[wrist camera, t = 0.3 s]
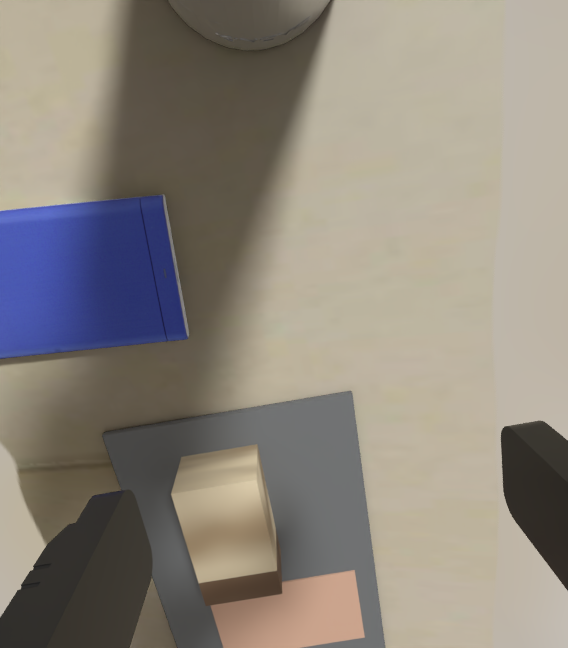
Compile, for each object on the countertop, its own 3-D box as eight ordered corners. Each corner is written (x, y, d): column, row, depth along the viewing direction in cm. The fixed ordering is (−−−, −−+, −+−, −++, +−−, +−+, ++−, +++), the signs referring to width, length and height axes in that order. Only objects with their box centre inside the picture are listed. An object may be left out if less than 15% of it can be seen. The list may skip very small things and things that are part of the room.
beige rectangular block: (181, 456, 29) (170, 494, 26) (257, 444, 29) (256, 479, 26) (211, 561, 32) (205, 606, 29) (280, 549, 32) (282, 593, 29)
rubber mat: (104, 432, 29) (101, 436, 28) (350, 390, 29) (352, 394, 28) (191, 680, 37) (190, 686, 36) (384, 649, 37) (386, 656, 36)
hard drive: (-28, 363, 26) (187, 341, 26) (-80, 219, 23) (160, 194, 23) (-13, 352, 27) (191, 331, 27) (-60, 216, 25) (167, 193, 25)
